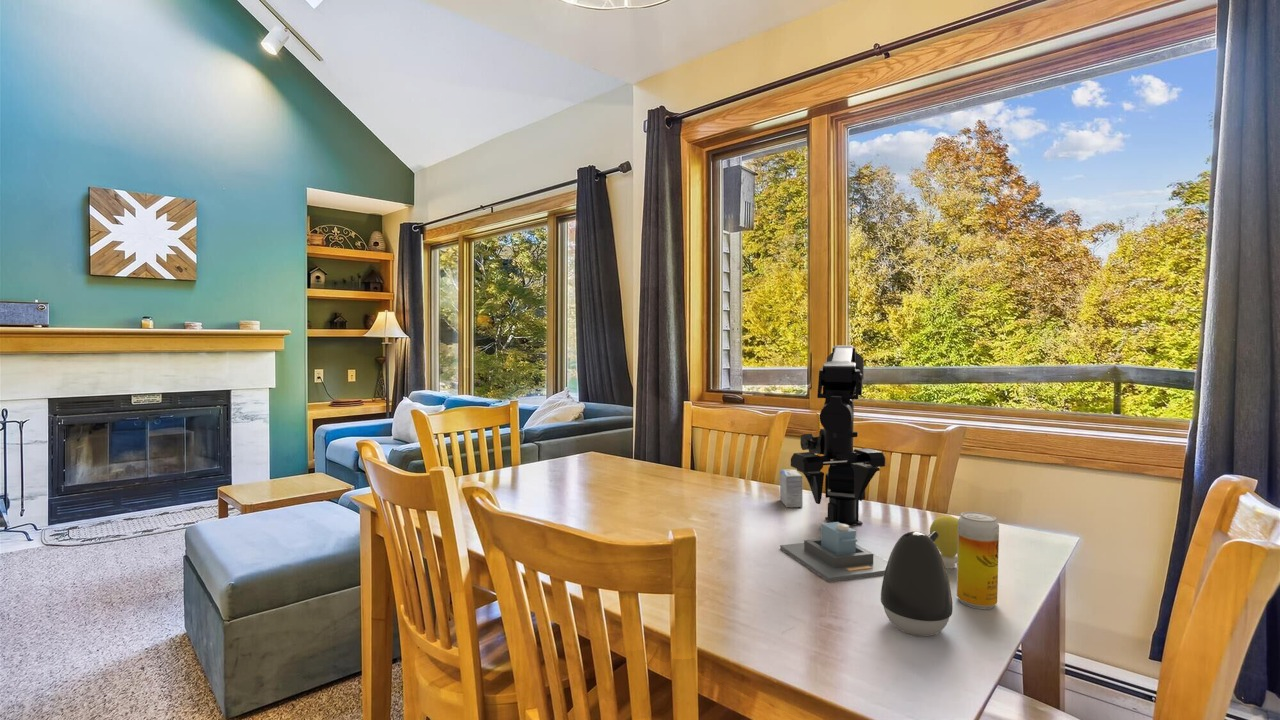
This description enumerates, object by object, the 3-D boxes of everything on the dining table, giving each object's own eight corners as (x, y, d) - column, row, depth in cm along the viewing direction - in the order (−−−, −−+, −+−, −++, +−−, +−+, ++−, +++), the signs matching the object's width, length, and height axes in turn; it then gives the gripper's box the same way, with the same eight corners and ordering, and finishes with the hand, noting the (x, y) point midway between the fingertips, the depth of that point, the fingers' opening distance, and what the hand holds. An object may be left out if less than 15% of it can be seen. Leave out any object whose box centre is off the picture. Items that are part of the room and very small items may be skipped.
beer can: (996, 614, 99) (998, 523, 98) (955, 605, 102) (956, 517, 101) (997, 600, 104) (999, 514, 103) (957, 592, 107) (959, 508, 106)
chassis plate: (844, 541, 133) (845, 529, 133) (901, 572, 116) (901, 558, 116) (780, 548, 129) (780, 536, 129) (828, 582, 111) (828, 567, 111)
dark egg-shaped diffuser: (966, 632, 93) (968, 535, 92) (927, 651, 87) (929, 548, 86) (905, 607, 101) (907, 518, 100) (866, 623, 95) (868, 529, 95)
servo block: (834, 548, 127) (834, 516, 127) (859, 562, 119) (859, 528, 118) (817, 550, 126) (818, 518, 125) (841, 564, 118) (842, 530, 117)
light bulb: (965, 563, 121) (966, 513, 120) (968, 575, 114) (969, 523, 114) (928, 558, 123) (929, 509, 123) (929, 569, 117) (930, 518, 117)
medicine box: (802, 508, 159) (803, 475, 159) (785, 508, 159) (786, 475, 159) (795, 500, 167) (795, 469, 167) (779, 500, 167) (779, 469, 167)
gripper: (853, 418, 132) (852, 488, 132) (777, 421, 127) (776, 495, 127) (887, 425, 121) (886, 502, 122) (806, 430, 116) (805, 509, 117)
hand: (837, 501), depth 122 cm, fingers open, 9 cm apart
